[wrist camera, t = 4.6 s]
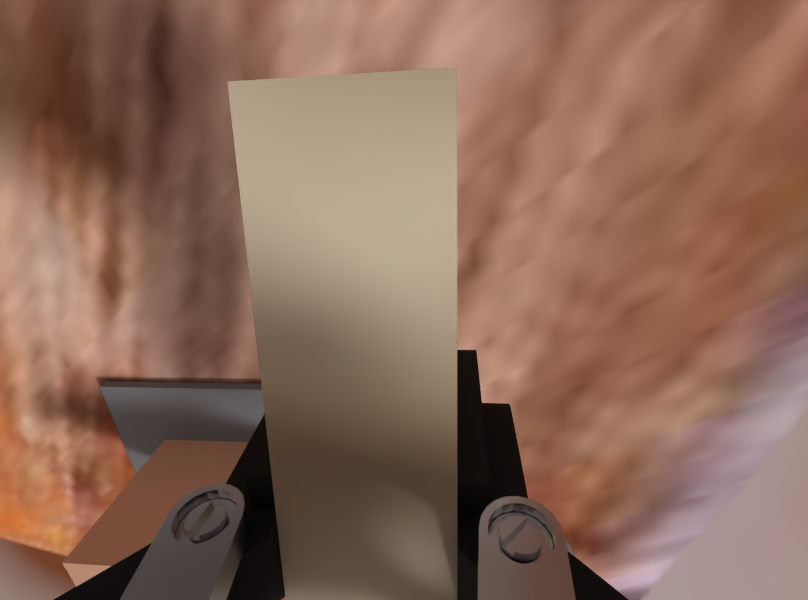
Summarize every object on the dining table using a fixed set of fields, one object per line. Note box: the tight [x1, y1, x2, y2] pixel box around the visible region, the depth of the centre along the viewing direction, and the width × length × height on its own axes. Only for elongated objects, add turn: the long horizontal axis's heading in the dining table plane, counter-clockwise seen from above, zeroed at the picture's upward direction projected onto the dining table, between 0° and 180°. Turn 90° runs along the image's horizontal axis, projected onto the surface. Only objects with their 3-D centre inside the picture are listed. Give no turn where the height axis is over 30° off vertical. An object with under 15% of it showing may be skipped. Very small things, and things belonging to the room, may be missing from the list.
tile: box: [63, 439, 248, 586], centre depth 23 cm, size 2×10×8 cm, turn 93°
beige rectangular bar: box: [227, 68, 457, 600], centre depth 10 cm, size 19×5×5 cm, turn 3°
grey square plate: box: [100, 381, 265, 474], centre depth 28 cm, size 16×16×1 cm
